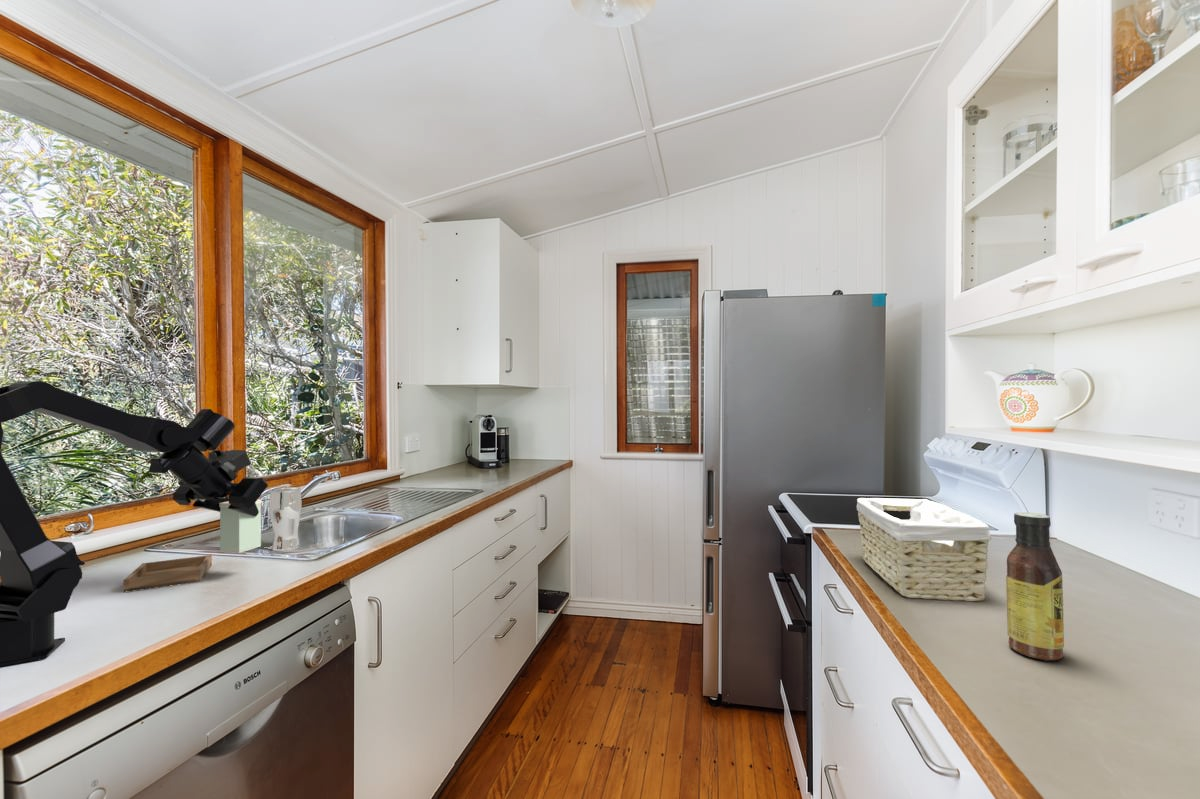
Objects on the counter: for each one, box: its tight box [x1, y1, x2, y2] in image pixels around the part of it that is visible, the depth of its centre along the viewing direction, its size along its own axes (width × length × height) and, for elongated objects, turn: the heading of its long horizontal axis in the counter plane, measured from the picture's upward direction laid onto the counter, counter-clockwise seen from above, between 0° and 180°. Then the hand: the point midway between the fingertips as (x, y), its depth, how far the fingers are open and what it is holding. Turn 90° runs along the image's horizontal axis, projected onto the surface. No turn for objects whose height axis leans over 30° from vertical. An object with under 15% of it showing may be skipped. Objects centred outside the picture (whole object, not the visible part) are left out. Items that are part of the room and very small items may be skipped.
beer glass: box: [269, 486, 303, 552], centre depth 129 cm, size 7×7×15 cm
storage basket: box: [856, 497, 992, 602], centre depth 103 cm, size 24×16×15 cm
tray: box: [122, 554, 213, 593], centre depth 107 cm, size 12×12×2 cm
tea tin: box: [219, 498, 262, 554], centre depth 107 cm, size 5×5×10 cm
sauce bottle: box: [1005, 512, 1065, 661], centre depth 73 cm, size 6×6×20 cm
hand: (246, 513), depth 109 cm, fingers closed on tea tin, 5 cm apart
